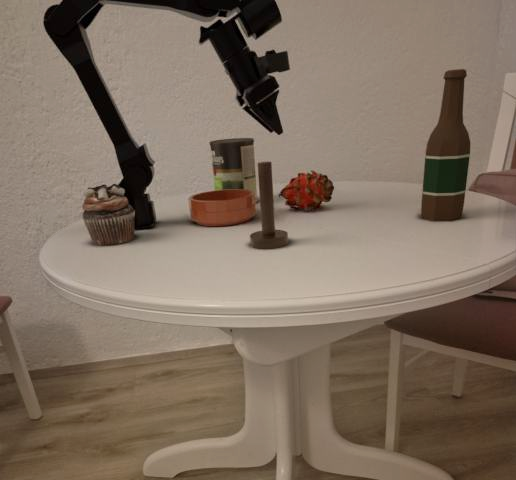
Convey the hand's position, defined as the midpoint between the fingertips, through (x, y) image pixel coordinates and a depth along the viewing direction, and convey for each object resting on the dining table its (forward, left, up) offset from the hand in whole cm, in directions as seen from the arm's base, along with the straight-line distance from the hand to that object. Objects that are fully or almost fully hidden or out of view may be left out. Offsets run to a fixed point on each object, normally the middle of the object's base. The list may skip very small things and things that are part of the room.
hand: (276, 132), depth 97 cm
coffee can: (-9, +15, -16) cm, 24 cm away
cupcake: (-33, -13, -16) cm, 39 cm away
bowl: (-12, -3, -16) cm, 20 cm away
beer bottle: (+29, -16, -16) cm, 36 cm away
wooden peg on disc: (-4, -25, -16) cm, 30 cm away
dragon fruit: (+6, 0, -16) cm, 17 cm away
